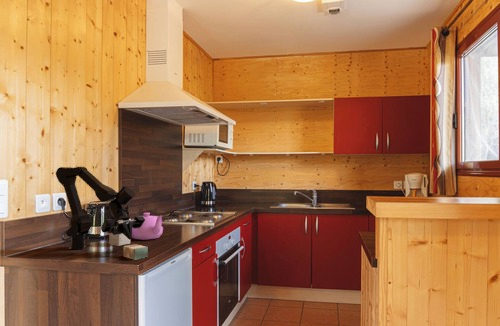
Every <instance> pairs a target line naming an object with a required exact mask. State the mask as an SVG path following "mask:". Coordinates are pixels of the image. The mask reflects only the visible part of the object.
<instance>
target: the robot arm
mask: <svg viewBox="0 0 500 326" xmlns="http://www.w3.org/2000/svg"><path fill="white" fill-rule="evenodd" d="M55 177H56V178H57V180H58V182H59V183H60V185H61V186H63V188H64V191H65V196H66V199H67V202H68V205H69V209H70V211H71V219H70V227H69V228H68V229H67V230H66V231H65V232H66V233H65V234H66V236H67V237H70V247H68V250H83V249H85V248H86V247H87V245H85V235H88V234H89V231H90V229H91V227H92V222H93V221H92V220H91V216H90V214H89V213H87V214H86V213H85V212H84V210H83V209H84V208H83V207H82V203H81V200H80V197H79V192H78V190H77V187H76V183H77V177H79V178H80V179H81V180H82V181H83V182H84V183H86V185H87V186H89V187H90V189H92V191H94V194H95V197H96V198H97V199H98V200H99V202H102V203H106V202H108V203H106V205H105V206H104V210H106V211H110V215H111V218H110V219H109V218H108V219H104V221H103V223H102V224H101V227H100V229H101V232H102V233H108V234H110V233H112V234H113V235H116V234H124V235H125V236H126V237H127V238H128V239H129V240H130V241H131V240H132V239H133V237H132V228H134V229H135V228H140V227H141V226H142V224H143V223H144V221H145V218H144V217H143V216H144V215H138V216H135V217H134V218H132V219H133V220H132V219H131V216H130V215H128V214H127V212H128V211H127V210H128V209H127V208H124V206H123V205H125V206H127V205H128V204H130V202H131V201H132V200H133V199H135V198H136V193H135V191H134V190H133V189H131V188H129V187H128V186H127V185H125V186H122V187H121V188H120V190H119V191H118V192H117V191H116V190H114V188H112V187H110V186H108V185H106V184H103V183H102V182H101V181H100V180H99V179H98V177H96V176H95V175H93V174H92V173H91V172H90V171H89V170H88V169H87V167H86V166H76V167H75V166H74V167H70V166H69V167H68V166H66V167H65V166H64V167H63V166H60V167H58V168H57V169H56V171H55ZM129 219H131V220H129Z"/></svg>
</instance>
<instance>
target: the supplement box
mask: <svg viewBox="0 0 500 326" xmlns="http://www.w3.org/2000/svg"><path fill="white" fill-rule="evenodd" d="M129 220H132V219H131V218H129ZM108 236H109V238H108V239H109V241H108V242H109V245H112V246H117V247H119V246H120V247H121V246H126V245H131V240H129V239H128V238H127V237H126V236H125V235H124V234H116V235H113V234H112V233H109V235H108Z"/></svg>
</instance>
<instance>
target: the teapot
mask: <svg viewBox="0 0 500 326" xmlns="http://www.w3.org/2000/svg"><path fill="white" fill-rule="evenodd" d="M150 214H151V212H143V215H142V216H143V217H144V218H145V221H144V223H143V224H142V226H141V227H140V228H135V229H134V228H132V239H134V240H142V241H148V240H154V239H158V238H160V237H161V236H162V234H163V231H164V227H163V226H162V224H163V219H162V217H163V215H150ZM133 219H134V218H132V219H131V220H133Z"/></svg>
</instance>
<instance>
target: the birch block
mask: <svg viewBox="0 0 500 326" xmlns="http://www.w3.org/2000/svg"><path fill="white" fill-rule="evenodd" d="M148 250H149V249H148V246H144V245H140V244H137V243H135V244H127V245H123V256H122V257H124V258H127V259H131V260H134V261H136V260H142V259H145V257H147V258H148V256H149V255H148V252H149V251H148ZM141 258H142V259H141Z"/></svg>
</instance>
